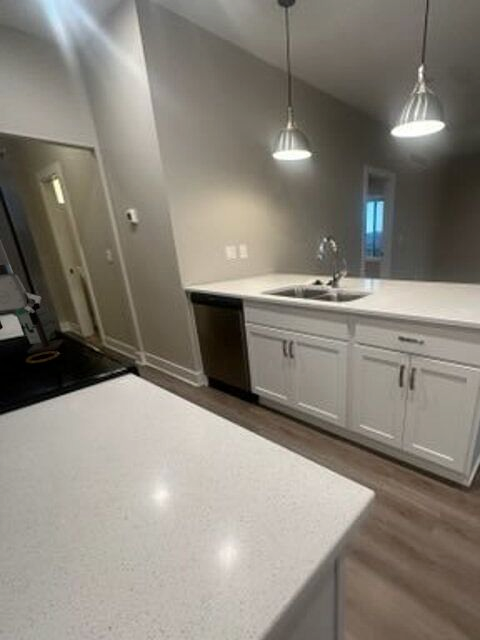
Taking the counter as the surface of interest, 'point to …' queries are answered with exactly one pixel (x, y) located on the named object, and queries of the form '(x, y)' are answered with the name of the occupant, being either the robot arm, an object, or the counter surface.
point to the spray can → (18, 312)
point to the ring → (42, 359)
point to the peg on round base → (44, 341)
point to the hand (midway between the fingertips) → (18, 326)
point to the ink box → (31, 328)
